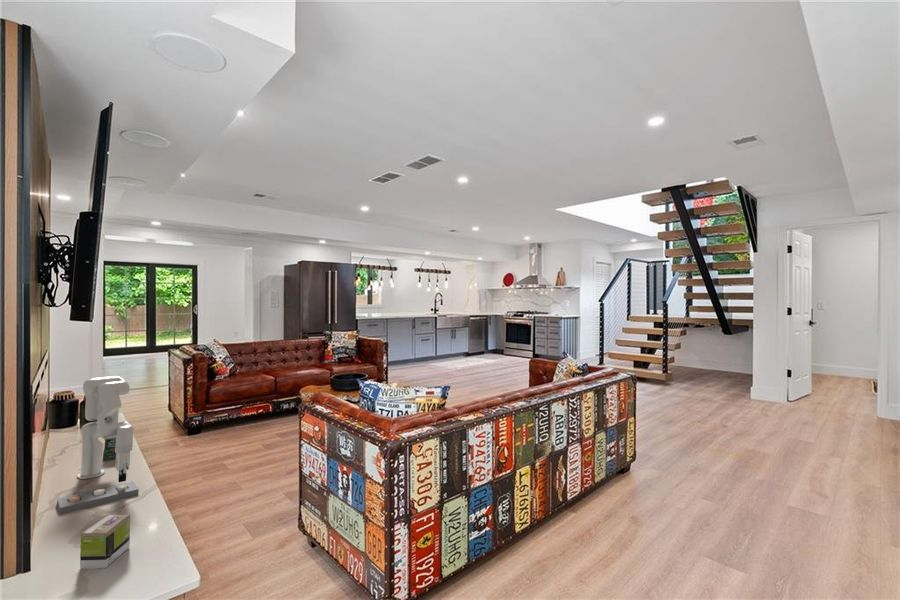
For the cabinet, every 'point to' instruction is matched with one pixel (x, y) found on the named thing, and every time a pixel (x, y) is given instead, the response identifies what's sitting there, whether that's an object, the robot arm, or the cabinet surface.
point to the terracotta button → (74, 498)
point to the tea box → (104, 541)
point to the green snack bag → (109, 449)
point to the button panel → (96, 497)
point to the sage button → (121, 487)
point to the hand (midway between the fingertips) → (122, 481)
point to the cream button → (99, 492)
